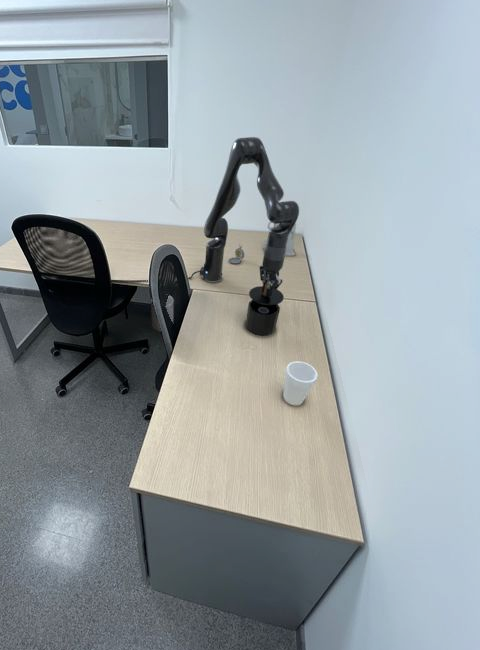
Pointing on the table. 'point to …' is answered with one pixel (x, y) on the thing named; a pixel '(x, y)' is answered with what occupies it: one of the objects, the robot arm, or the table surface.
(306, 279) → the table surface
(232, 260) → the pocket watch
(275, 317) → the pot
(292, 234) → the phone holder
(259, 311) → the socket
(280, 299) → the lid
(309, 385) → the foam cup
